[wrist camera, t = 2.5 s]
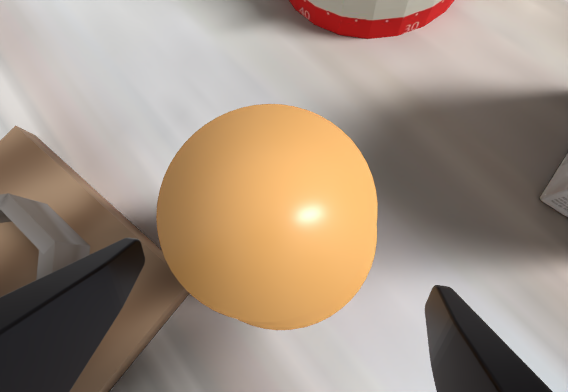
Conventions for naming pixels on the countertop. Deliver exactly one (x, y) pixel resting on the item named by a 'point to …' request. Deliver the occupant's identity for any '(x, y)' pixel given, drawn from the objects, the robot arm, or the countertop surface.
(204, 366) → the countertop surface
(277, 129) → the wooden peg doll
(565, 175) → the coffee box
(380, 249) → the countertop surface
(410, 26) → the kitchen timer
